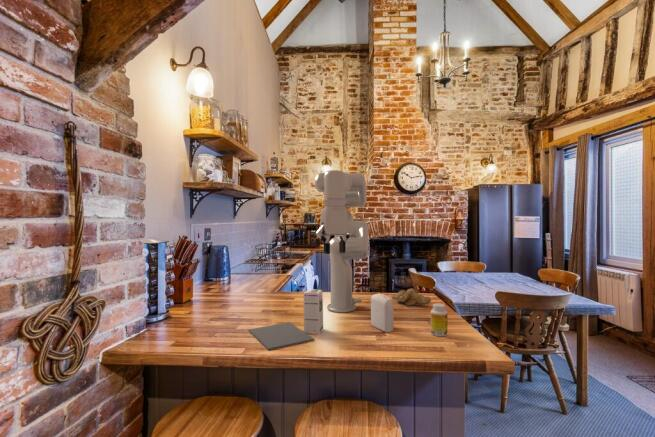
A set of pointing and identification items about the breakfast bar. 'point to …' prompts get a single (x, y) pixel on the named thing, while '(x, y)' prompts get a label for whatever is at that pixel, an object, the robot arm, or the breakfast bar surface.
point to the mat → (280, 335)
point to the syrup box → (313, 311)
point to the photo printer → (382, 312)
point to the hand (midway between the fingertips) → (334, 252)
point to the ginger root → (411, 298)
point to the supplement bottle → (439, 320)
